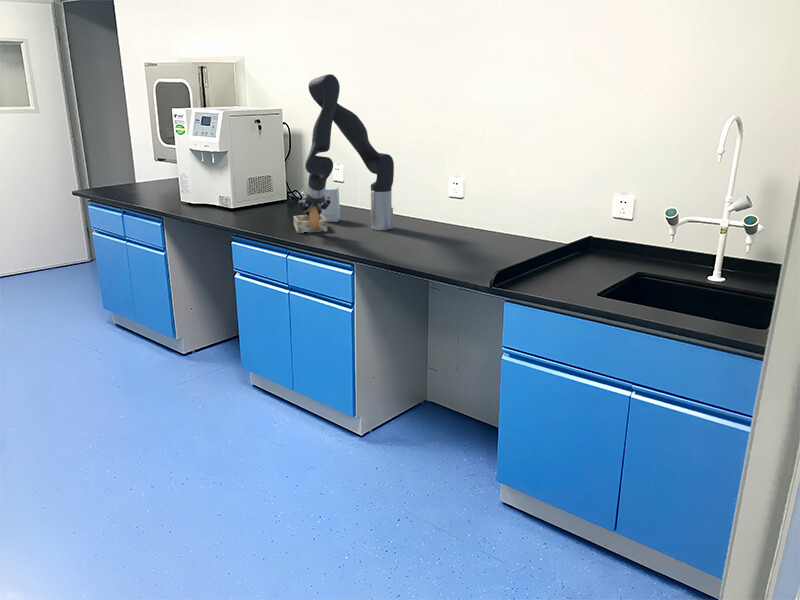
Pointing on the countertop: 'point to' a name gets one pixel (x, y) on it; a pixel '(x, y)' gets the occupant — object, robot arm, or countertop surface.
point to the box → (304, 224)
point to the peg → (314, 217)
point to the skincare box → (332, 205)
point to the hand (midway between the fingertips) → (313, 213)
